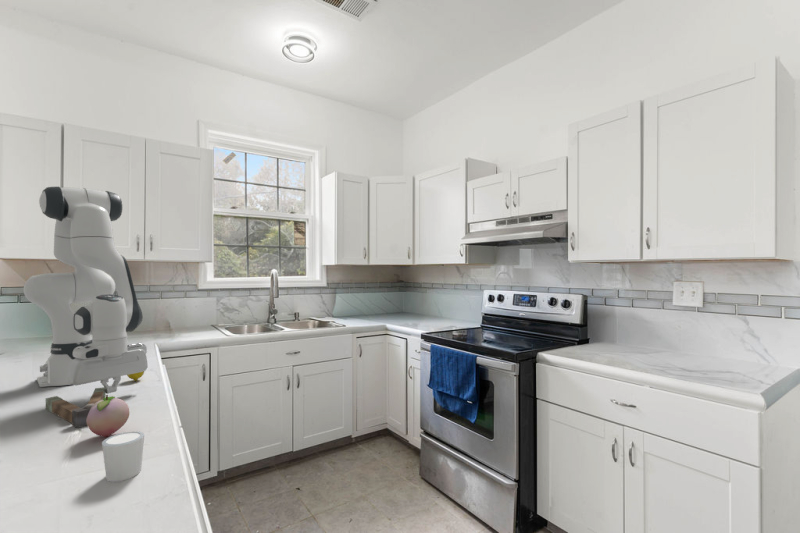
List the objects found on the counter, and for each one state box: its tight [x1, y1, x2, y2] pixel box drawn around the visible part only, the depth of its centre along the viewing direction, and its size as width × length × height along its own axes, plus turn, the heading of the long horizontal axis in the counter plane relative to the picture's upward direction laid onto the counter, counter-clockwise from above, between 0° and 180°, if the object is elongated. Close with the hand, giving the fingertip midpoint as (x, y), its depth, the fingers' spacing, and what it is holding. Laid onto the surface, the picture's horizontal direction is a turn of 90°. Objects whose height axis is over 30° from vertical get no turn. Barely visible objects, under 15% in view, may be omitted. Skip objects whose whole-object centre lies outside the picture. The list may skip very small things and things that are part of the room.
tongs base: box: [45, 395, 94, 429], centre depth 111 cm, size 25×6×5 cm, turn 56°
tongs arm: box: [87, 386, 107, 404], centre depth 117 cm, size 20×2×3 cm, turn 31°
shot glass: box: [101, 431, 145, 483], centre depth 78 cm, size 7×7×7 cm
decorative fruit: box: [86, 394, 130, 438], centre depth 96 cm, size 9×8×10 cm
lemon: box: [126, 371, 145, 382], centre depth 145 cm, size 6×6×8 cm
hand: (110, 392), depth 124 cm, fingers closed
